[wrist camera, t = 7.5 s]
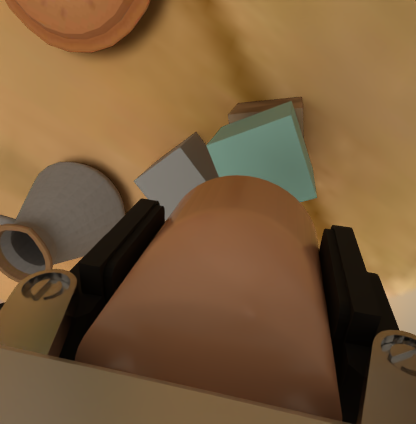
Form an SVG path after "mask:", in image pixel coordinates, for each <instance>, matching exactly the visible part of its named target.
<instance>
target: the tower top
mask: <svg viewBox="0 0 416 424" xmlns="http://www.w3.org/2000/svg"><path fill="white" fill-rule="evenodd" d="M206 146H207V149H208V151H209V153H210V156H211V158H212V161H213V163H214V166H215V168H216V171H217V173H218V175H219V177H223V176H232V175H242V176H251V177H256V178H260V179H263V180H267V181H269V182H272V183H274V184H276V185H278V186H280V187H281V188H283V189H285V190H286V191H288V192H289V193H290V194H291V195H293V196H294V197H295V198H296V199H297V200H298V201H299V202H303V201H307V200H310V199H314V198H317V195H316V188H315V181H314V174H313V168H312V165H311V162H310V159H309V155H308V152H307V149H306V146H305V142H304V139H303V136H302V133H301V129H300V126H299V123H298V120H297V116H296V113H295V110H294V107H293V103H292V101H289V102H287V103H284V104H281V105H279V106H276V107H273V108H271V109H268V110H265V111H263V112H260V113H257V114H255V115H252V116H249V117H247V118H244V119H241V120H239V121H236V122H233V123H231V124H228V125H225V126H223V127H221V128H220V130H219V131H218V132H217V133H216V134H215V136H214V137H213V138H212V139H211V140H210V142H209V143H208V144H207V145H206Z"/></svg>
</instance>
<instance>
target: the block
mask: <svg viewBox="0 0 416 424" xmlns="http://www.w3.org/2000/svg"><path fill="white" fill-rule="evenodd" d="M218 177H219V175H218V173H217V171H216V168H215V166H214V163H213V161H212V158H211V156H210V153H209V151H208V149H207V146H206V145H205V143H204V142H203V140H202V139H201V138H200V136H199V135H198V134H197V132H195V133H194V134H192V135H191V136H190V137H188V138H187V139H186V140H184V141H183V142H182V143H180V144H179V145H178V146H176V147H175V148H174V149H172V150H171V151H170V152H168V153H167V154H166V155H164V156H163V157H162V158H160V159H159V160H157V161H156V162H155V163H154V164H153V165H151V166H150V167H149V168H148V169H147V170H146V171H145V172H144V173H142V174H141V175H140V176H139V177H138V178H137V179H136V180H135V181H134V182H135V184H136V185H137V186H138V187H139V188H140V190H141V191H142V192H143V193H144V195H145V196H146V197H147V198H148V199H149V200H156V201H159V204H160V205H161V206H164V208H165V220H167V219H168V217H169V216H170V214H171V213H172V212H173V210H174V209H175V207H176V206H177V205H178V203H179V202H180V201H181V199H182V198H183V197H184V196H185V195H186V194H187V193H188V192H189V191H191V190H192V189H193V188H195V187H196V186H198V185H200V184H202V183H204V182H206V181H208V180H211V179H214V178H218Z"/></svg>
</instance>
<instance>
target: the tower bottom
mask: <svg viewBox="0 0 416 424" xmlns="http://www.w3.org/2000/svg"><path fill="white" fill-rule="evenodd" d="M289 101H292V103H293V107H294V110H295V113H296V116H297V120H298V123H299V126H300V129H301V133H302V136H303V103H302V97H294V98H284V99H274V100H264V101H254V102H244V103H238V104H237V105H236V106H235V107H234V108H233V110H232V111H231V112H230V113H229V114H228V118H229V124H231V123H233V122H236V121H239V120H241V119H244V118H247V117H249V116H252V115H255V114H257V113H260V112H263V111H265V110H268V109H271V108H273V107H276V106H279V105H281V104H284V103H287V102H289ZM303 139H304V136H303Z"/></svg>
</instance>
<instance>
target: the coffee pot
mask: <svg viewBox="0 0 416 424" xmlns="http://www.w3.org/2000/svg"><path fill="white" fill-rule="evenodd" d="M124 216H125V209H124V204H123V200H122V198H121V196H120V194H119V192H118V190H117V188H116V187H115V186H114V184H113V183H112V182H111V181H110V179H108V178H107V177H106V176H105V175H104V174H102V173H101V172H100V171H98V170H96V169H94V168H92V167H90V166H89V165H85V164H81V163H76V162H58V163H56V164H53V165H50V166H48V167H46V168H45V169H44V170H43V171H42V172H40V173H39V174H38V176H37V178H36V180H35V181H34V183H33V185H32V187H31V189H30V191H29V193H28V195H27V197H26V199H25V201H24V203H23V205H22V208H21V210H20V212H19V214H18V216H17V218H16V219H13V218H10V217H7V216H3V215H0V271H1V272H2V273H3V274H5V275H6V276H8V277H9V278H10V279H12V280H14V281H16V282H20V281H21V280H23V279H24V278H26V277H27V276H29V275H31V274H34V273H36V272H39V271H43V270H49V269H52V267H53V265H54V264H57V263H61V262H65V261H68V260H72V259H76V258H79V257H83V256H85V255H86V254H87V253H88V252H89V251H90V250H91V249H92V248H93V247H94V246H95V245H96V244H97V243H98V242H99V241H100V240H101V239H102V238H103V237H104V236H105V235H106V234H107V233H108V232H109V231H110V230H111V229H112V228H113V227H114V226H115V225H116V224H117V223H118V222H119V221H120V220H121V219H122V218H123V217H124Z"/></svg>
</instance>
